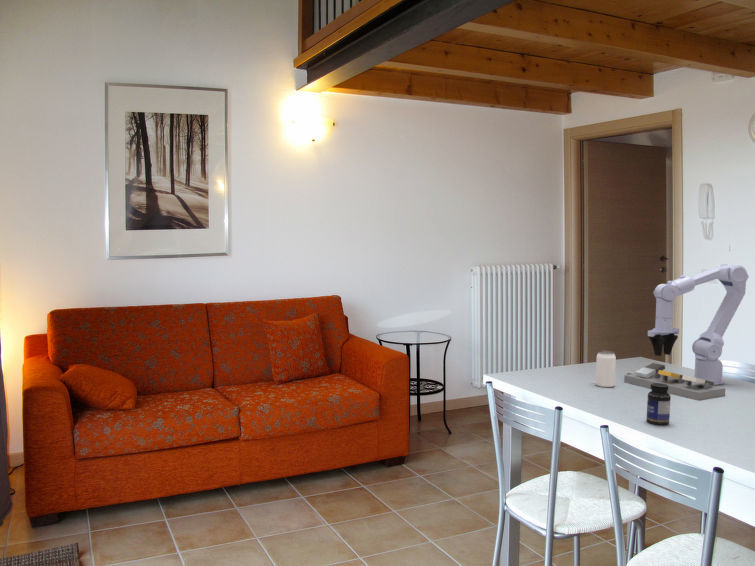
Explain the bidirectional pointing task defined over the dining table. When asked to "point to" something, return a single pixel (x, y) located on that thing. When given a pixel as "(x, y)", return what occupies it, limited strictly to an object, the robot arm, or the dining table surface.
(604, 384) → the can
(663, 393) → the pill bottle
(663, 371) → the block
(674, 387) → the rocker switch panel
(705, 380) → the rocker
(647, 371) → the rocker
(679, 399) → the dining table surface
